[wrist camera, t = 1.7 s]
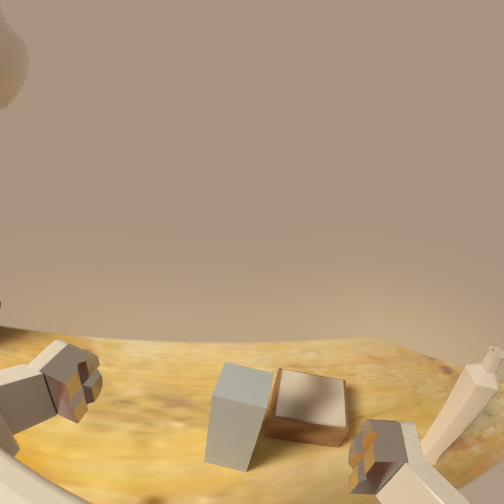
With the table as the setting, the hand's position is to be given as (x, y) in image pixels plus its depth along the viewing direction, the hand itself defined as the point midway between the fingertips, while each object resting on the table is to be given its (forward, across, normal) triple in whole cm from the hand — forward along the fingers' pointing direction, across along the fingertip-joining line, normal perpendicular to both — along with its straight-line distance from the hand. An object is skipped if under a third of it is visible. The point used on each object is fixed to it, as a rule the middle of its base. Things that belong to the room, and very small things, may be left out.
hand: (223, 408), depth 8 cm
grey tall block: (+12, 0, +20) cm, 24 cm away
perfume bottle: (+15, -22, +21) cm, 34 cm away
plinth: (+19, -7, +20) cm, 29 cm away
